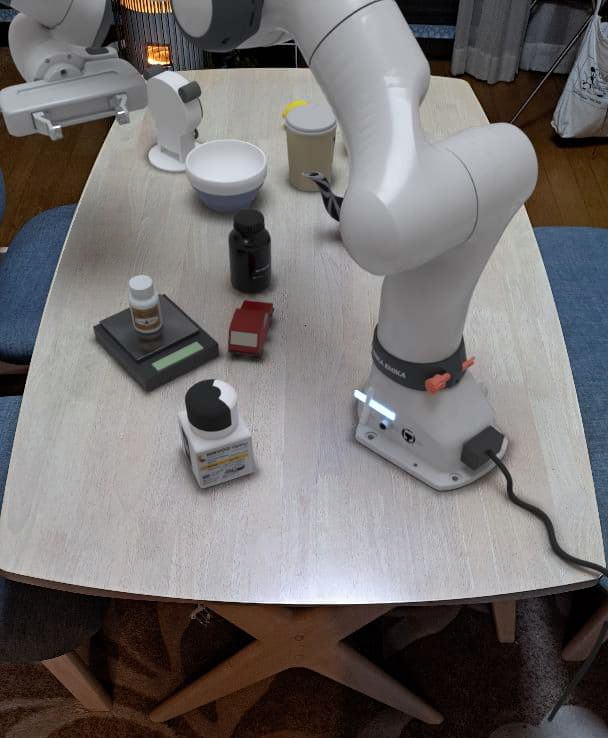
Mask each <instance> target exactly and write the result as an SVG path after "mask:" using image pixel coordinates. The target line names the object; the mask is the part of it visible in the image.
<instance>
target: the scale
mask: <svg viewBox="0 0 608 738" xmlns="http://www.w3.org/2000/svg"><path fill="white" fill-rule="evenodd" d="M157 294H158V297H159V302H160V309H161V315H162V322H163V323H162V326H161V328H160V329H159V330H157V331H156V332H153V333H141V332H139V331H137V330H136V329H135V327H134V325H133V319H132V314H131V309H130V306H129V307H127V308H125V309H122V310H121V311H119V312H116V313H114V314H112V315H110V316H108V317H105V318H103V319H102V320H99V321H98V322H99V323H98V324H97V323H96V325H93V326H92V328H93V333H94V336H95V340H96V341H97V342H98V343H99V344H100V345H101V346H102V347H103V348H104V349H105V351H107V352H108V353H109V354H110V355H111V357H112V358H114V360H115V361H116V362H117V363H118V364H119V365H120V366H121V367H122V368H123V369H124V370H125V371H126V372H127V373H128V374H129V375H130V376H131V377H132V378H133V379H134V380H135V382H137V383H138V384H139V385H140V386H141V387H142V389H144V391H145V392H146V393H150V392H152V391H153V390H155V389H157V388H159V387H162V386H163V385H165V384H167V383H169V382H172V380H175V379H177V378H179V377H181V376H183V375H185V374H187V373H189V372H191V371H192V370H195V369H197V368H199V367H200V366H202V365H204V364H206V363H208V362H210V361H212V360H214V359H216V358H218V357H220V356H221V355H220V347H219V342H218V341H216V340H215V339H214V338H213V336H211V335H210V334H209V333H208V332H207V331H206V330H204V329H203V328H202V327H201V326H200V325H199V324H198V323H197V322H196V321H195V320H194V319H193V318H191V317H190V316H189V315H188V314H187V313H186V312H185V311H184V310H183V309H182V308H181V307H180V306H179V305H178V304H176V302H174V300H172V299H171V298H170V297H169V296H168V295H166V293H163V294H161V293H157Z"/></svg>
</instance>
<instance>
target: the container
mask: <svg viewBox="0 0 608 738" xmlns="http://www.w3.org/2000/svg"><path fill="white" fill-rule="evenodd" d="M184 404H185V409H184V410H181V411H178V412H177V415H176V416H177V422H178V427H179V434H180V439H181V445H182V451H183V453H184V455H185V458H186V460H187V462H188V465H189V466H190V468H191V471H192V473H193V476H194V477H195V479H196V481H197V483H198V486H199V488H200V489H207V488H209V487H212V486H215V485H219V484H223V483H225V482H228V481H231V480H234V479H237V478H240V477H244V476H247V475H249V474H253V473H254V471H255V470H254V468H255V467H254V453H253V452H254V451H253V437H252V433H251V431H250V429H249V427H248V425H247V423H246V422H245V420H244V417H243V416H242V414H241V412H240V410H239V407H238V406H239V405H238V395H237V392H236V389H235V388H234V386H232V385H231V384H229V383H228V382H226V381H223V380H220V379H213V378H212V379H211V378H209V379H203V380H200V381H198V382H196V383H194V384H193V385H192V386H190V388H189V389H187V391H186V393H185V395H184Z"/></svg>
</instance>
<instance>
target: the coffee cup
mask: <svg viewBox="0 0 608 738" xmlns="http://www.w3.org/2000/svg"><path fill="white" fill-rule="evenodd" d="M284 124H285V133H286V134H285V135H286V149H287V160H288V161H287V162H288V174H289V175H288V176H289V181H290V184H291V186H292V187H294V188H295V189H297V190H300V191H303V192H308V193H309V192H320V190H319V188H318V186H317V184H316V183H315V182H314V181H313V180H311V179H309V178H307V177H305V176H303V175H302V173H304V172H319V173H321V174H323V175H324V176H325V177H326V178H327V180H328V182H329V185H330V184H331V181H332V174H333V173H332V172H333V164H334V155H335V148H336V147H335V146H336V136H337V127H338V125H339V124H338V122H337V120H336V118H335V116H334V114H333V112H332V110H331V108H330V107H327V106H325V105H321V104H315V103H309V104H305V105H300V106H297V107H294V108H293V109H291V110H290V111H289V112H288V114H287V116H286V118H285V120H284Z"/></svg>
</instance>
